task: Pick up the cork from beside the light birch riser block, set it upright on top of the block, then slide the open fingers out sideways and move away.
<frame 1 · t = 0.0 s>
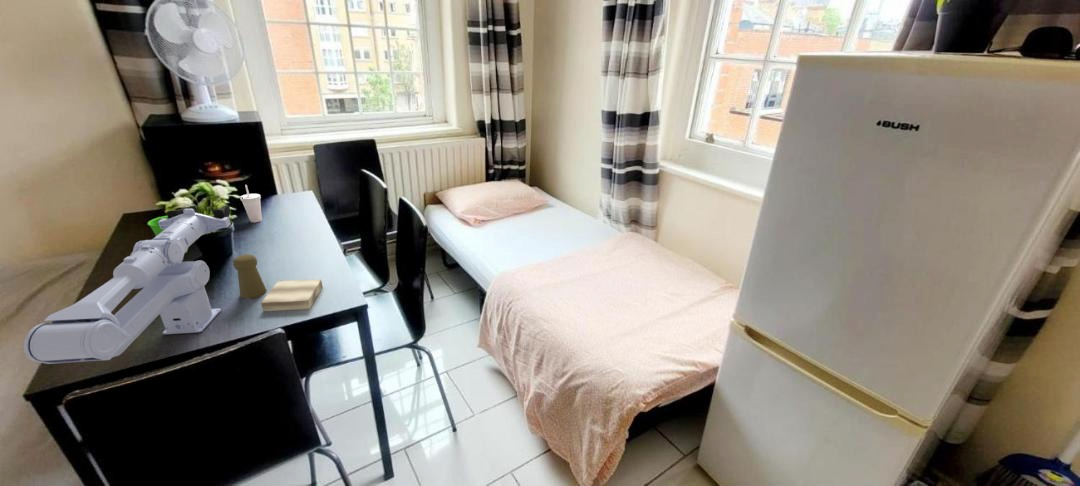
hand: (212, 208, 111), 22 cm above the table, tool horizontal, fingers open, 7 cm apart
cork: (253, 293, 115), on the table
cup: (177, 253, 135), on the table
smoothie: (256, 221, 161), on the table
birch riser block: (294, 298, 114), on the table
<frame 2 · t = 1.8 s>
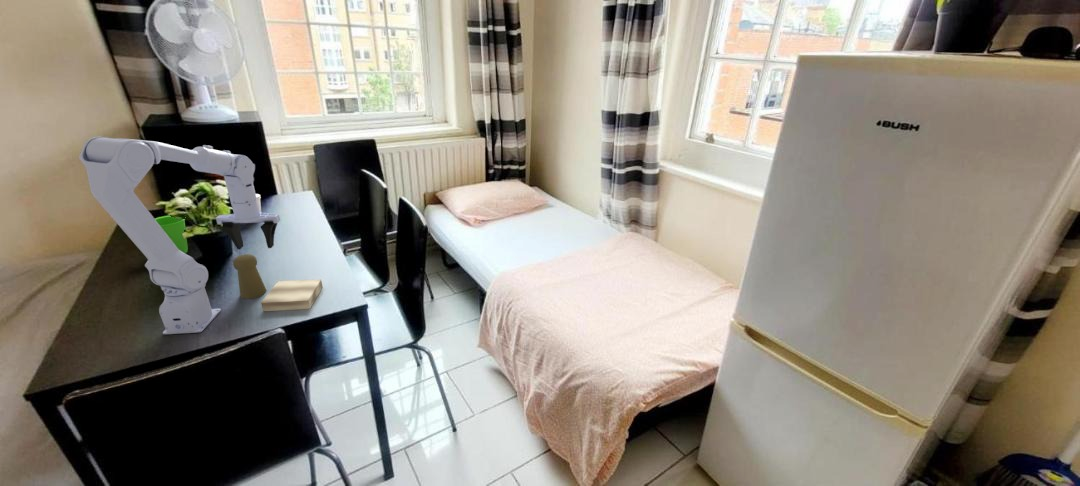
hand: (255, 247, 117), 10 cm above the table, tool pointing down, fingers open, 7 cm apart
nothing on the table moved.
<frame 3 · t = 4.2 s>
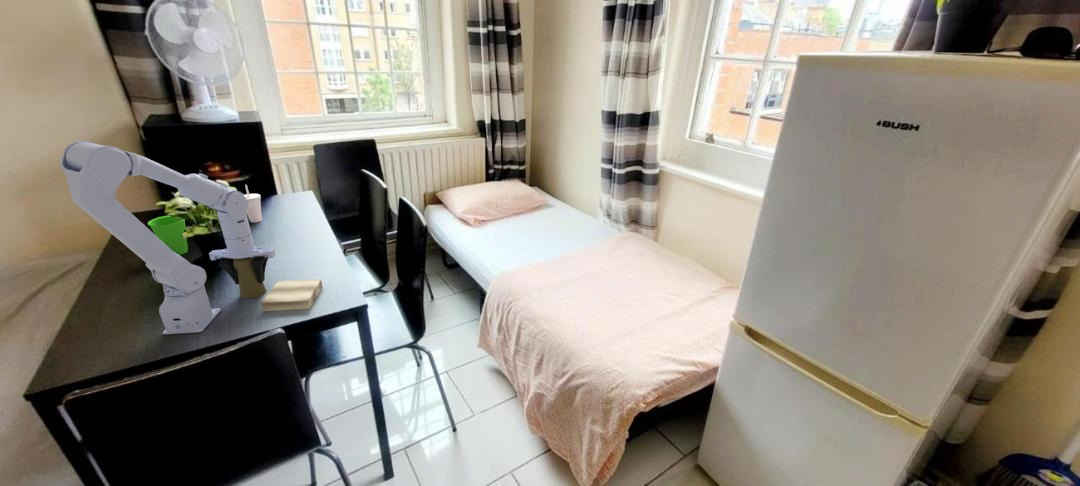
hand: (250, 282, 114), 3 cm above the table, tool pointing down, fingers closed on cork, 5 cm apart
cork: (253, 293, 115), on the table, touching gripper
everything else where it was.
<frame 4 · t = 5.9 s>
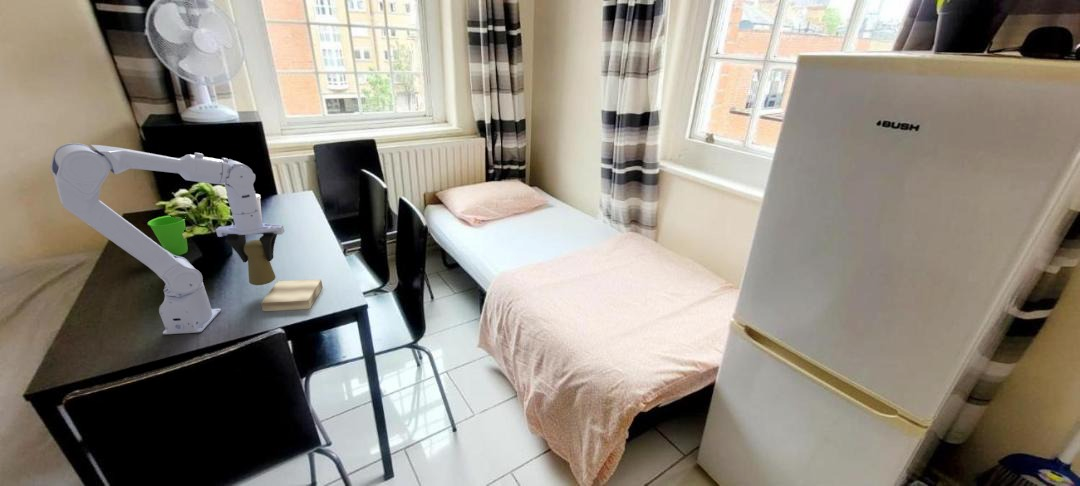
hand: (258, 260, 111), 10 cm above the table, tool pointing down, fingers closed on cork, 5 cm apart
cork: (262, 279, 114), point 4 cm above the table, touching gripper
everything else where it was.
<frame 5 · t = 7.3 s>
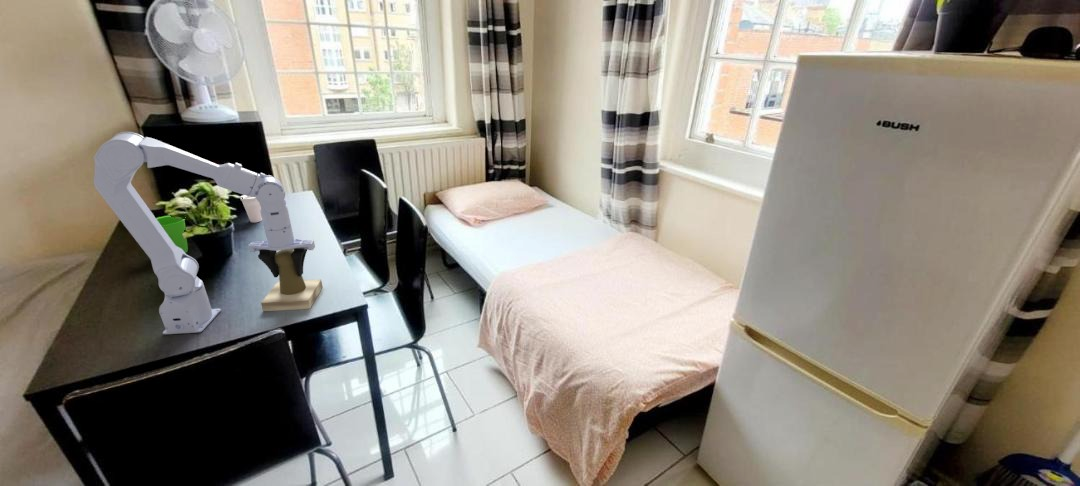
hand: (288, 275, 111), 7 cm above the table, tool pointing down, fingers closed on cork, 5 cm apart
cork: (293, 289, 113), point 2 cm above the table, touching birch riser block, gripper
everything else where it was.
when the fingers open (7 cm above the table, at t = 8.0 s): cork stays where it is, resting on birch riser block.
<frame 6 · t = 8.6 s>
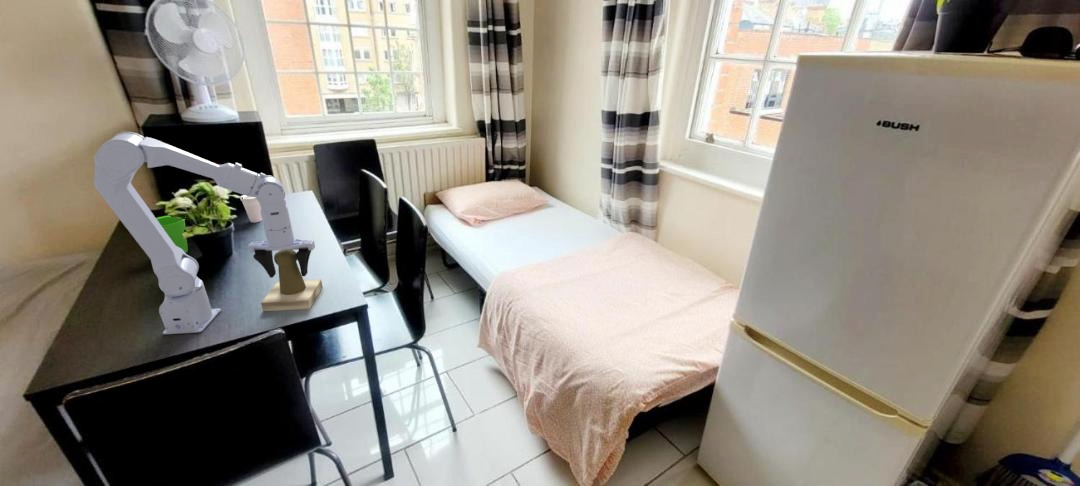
hand: (289, 275, 111), 7 cm above the table, tool pointing down, fingers open, 7 cm apart
cork: (293, 289, 113), point 2 cm above the table, touching birch riser block
everything else where it was.
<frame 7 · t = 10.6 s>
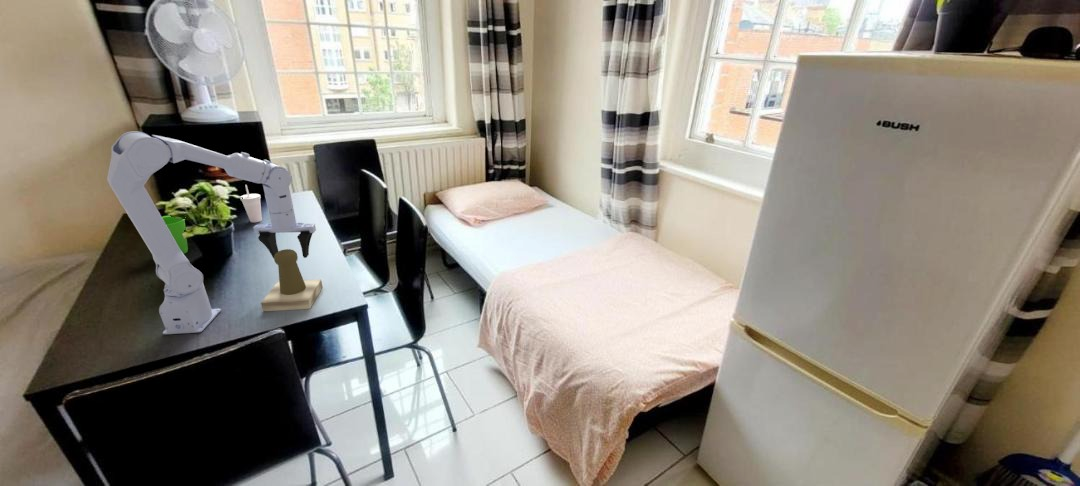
hand: (291, 256, 118), 8 cm above the table, tool pointing down, fingers open, 7 cm apart
nothing on the table moved.
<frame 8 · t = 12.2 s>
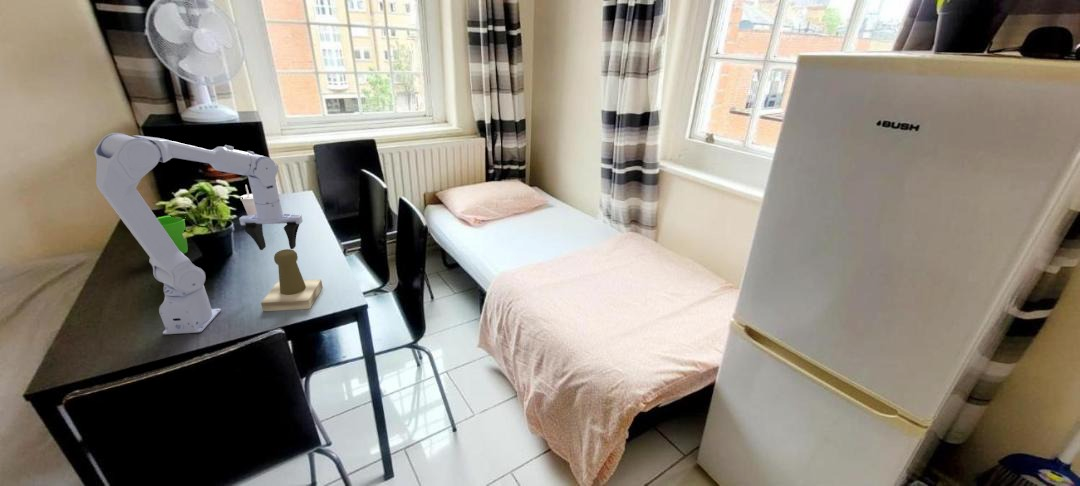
hand: (278, 248, 117), 10 cm above the table, tool pointing down, fingers open, 7 cm apart
nothing on the table moved.
at the end: cork 0.8 cm off-centre on the birch riser block, point 2.3 cm above the birch riser block's base; cork tilted 0°; the gripper is holding nothing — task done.
